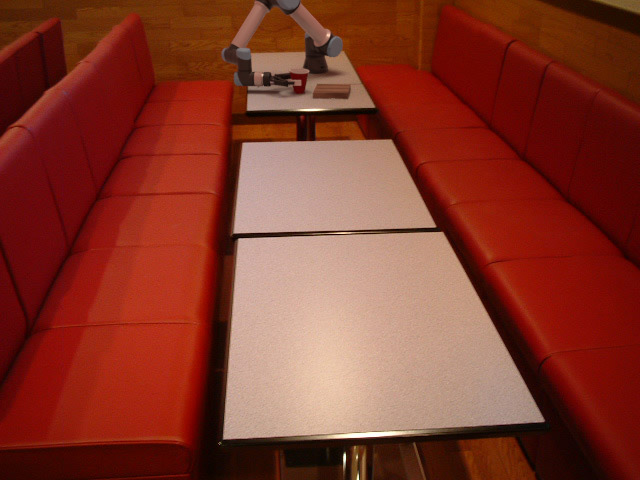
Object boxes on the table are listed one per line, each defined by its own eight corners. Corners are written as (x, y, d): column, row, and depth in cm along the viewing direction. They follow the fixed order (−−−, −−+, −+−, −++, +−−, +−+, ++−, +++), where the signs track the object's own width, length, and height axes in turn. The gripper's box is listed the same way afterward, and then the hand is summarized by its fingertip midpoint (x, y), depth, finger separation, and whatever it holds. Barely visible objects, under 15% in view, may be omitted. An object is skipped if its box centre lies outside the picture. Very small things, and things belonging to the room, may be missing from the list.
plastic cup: (309, 95, 333) (309, 72, 327) (289, 95, 333) (288, 72, 328) (310, 89, 343) (309, 67, 337) (290, 89, 343) (289, 67, 337)
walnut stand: (317, 89, 343) (317, 83, 342) (350, 89, 341) (350, 84, 340) (313, 98, 327) (312, 92, 326) (347, 98, 325) (347, 93, 324)
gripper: (268, 80, 349) (306, 80, 347) (259, 92, 328) (299, 92, 325) (267, 66, 346) (306, 66, 343) (258, 77, 324) (299, 78, 322)
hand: (303, 79), depth 334 cm, fingers open, 13 cm apart
